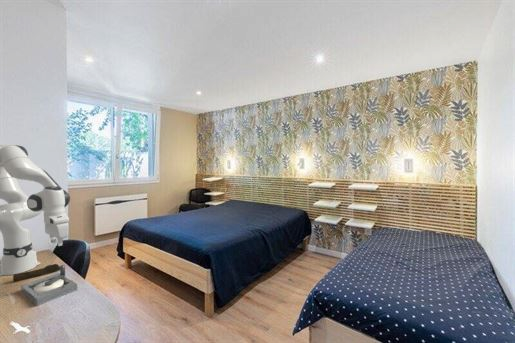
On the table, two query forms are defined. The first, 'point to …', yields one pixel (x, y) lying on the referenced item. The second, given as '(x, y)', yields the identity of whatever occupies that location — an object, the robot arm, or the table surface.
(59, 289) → the panel
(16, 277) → the hand tool
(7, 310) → the table surface
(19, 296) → the table surface
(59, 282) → the crank
